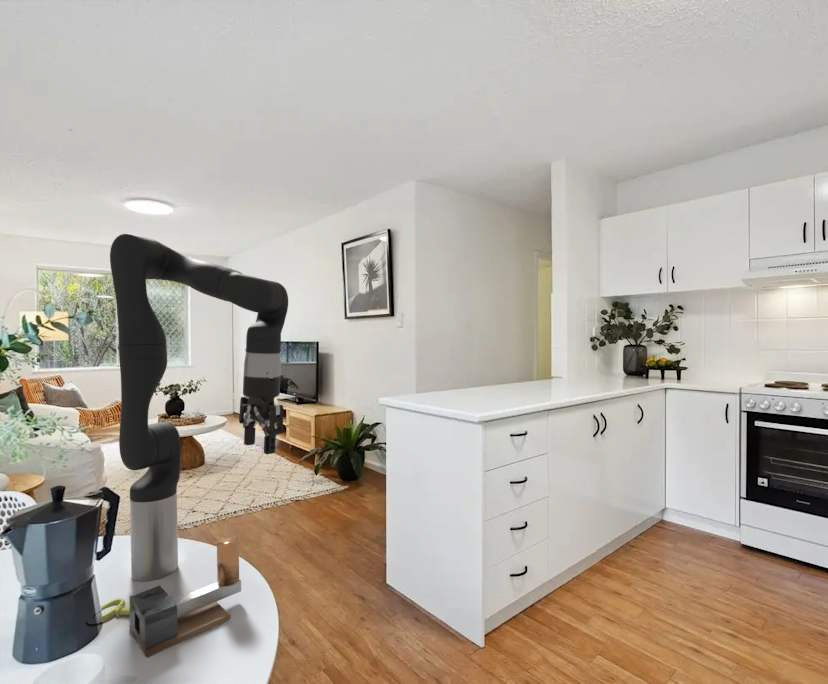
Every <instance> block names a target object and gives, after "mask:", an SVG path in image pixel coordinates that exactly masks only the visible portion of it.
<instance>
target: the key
mask: <svg viewBox="0 0 828 684" xmlns="http://www.w3.org/2000/svg"><path fill="white" fill-rule="evenodd" d="M113 605H117V606H115V607H114V608H113V609H111V610H109V611H108V612H107V613H105V614H103V615H101V616H102V620H103V622H102V623H104V622H105V621H108V620H110V619H111V618H114V617H115V616H116V617H117V618H119V617H121V616H130V607H125V606H126V601H125V599H124V598H121V597H120V598H115V599H113V600H110V601H108V602H107V603H104V604H102V605H101V606H100V607H101V609H102V611H103V610H105V609H107V608H109V607H112V606H113Z"/></svg>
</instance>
